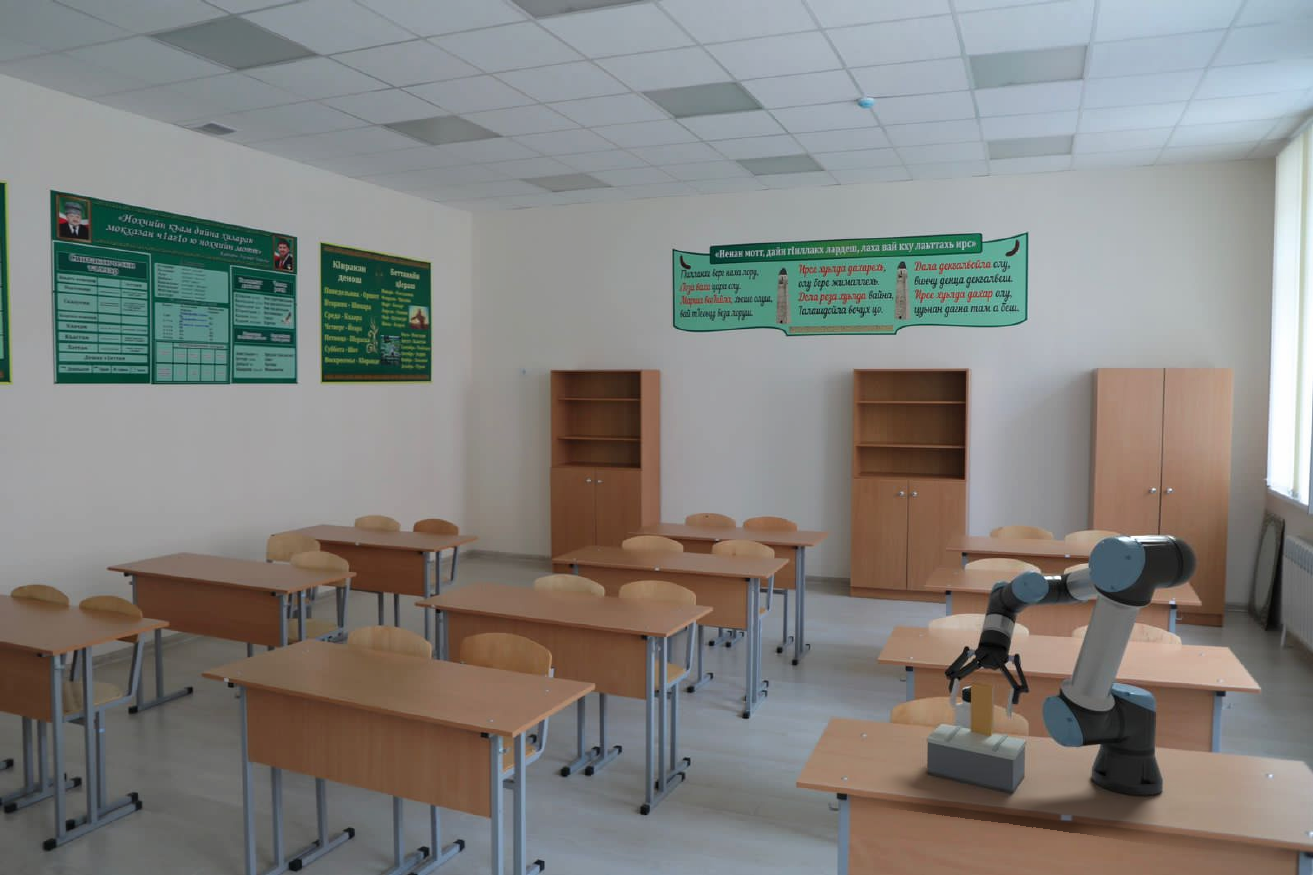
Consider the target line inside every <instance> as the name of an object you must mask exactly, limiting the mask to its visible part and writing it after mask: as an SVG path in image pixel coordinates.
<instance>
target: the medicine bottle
mask: <svg viewBox="0 0 1313 875" xmlns="http://www.w3.org/2000/svg"><path fill="white" fill-rule="evenodd" d="M953 720H954V722H953V726H958V725H961V726H962V728H967V729H971V685H970V686H965V687H963V688H962V689H961V702H958V703H955V707H954V719H953Z"/></svg>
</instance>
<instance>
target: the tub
mask: <svg viewBox="0 0 1313 875" xmlns="http://www.w3.org/2000/svg"><path fill="white" fill-rule="evenodd" d="M926 754H927V756H926V757H927V760H926V761H927V763H926V766H927V767H926V774H927V775H930V776H933V777H936V778H937V777H938V778H942V779H946V780H950V781H951V780H952V781H954V782H955V781H956V782H960V783H964V784H968V785H972V786H977V787H981V788H985V789H990V790H994V791H999V792H1003V793H1007V794H1012V795H1013V794H1014V793H1015V791H1016V790H1017V789H1018V787H1019V786H1020V784H1021V783H1022V781H1023V780H1024V779H1025V772H1026V771H1025V769H1026V766H1025V763H1026V761H1025V760H1026V745H1025V746H1024V748H1023V749H1022V750H1021V752H1020V753H1019V754H1018V756H1017V757H1016V758H1015V760H1010V759H1005V758H1001V757H996V756H991V755H986V754H982V753H977V752H972V751H967V750H963V749H958V748H953V747H948V746H943V745H939V744H934V743H929V742H927V752H926Z"/></svg>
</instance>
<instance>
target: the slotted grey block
mask: <svg viewBox="0 0 1313 875" xmlns="http://www.w3.org/2000/svg"><path fill="white" fill-rule="evenodd" d="M970 686H971V729H967V728H962V726H961V725H958V726H954V725H951V724H947V723H946V724H945V723H941V724H940V725H938V726H937V727H936V729H934V730H933V731H932V732H931V733H930V734H929V735H928V736H927V737H926V743H928V742H929V743H934V744H939V745H943V746H948V747H953V748H958V749H963V750H967V751H972V752H977V753H982V754H986V755H991V756H996V757H1001V758H1005V759H1010V760H1015V758H1016V757H1017V756H1018V754H1019V753H1020V752H1021V750H1022V749H1023V748H1024V746H1025V747H1026V745H1027V739H1024V738H1019V737H1018V738H1017V737H1012V736H1008V734H1006V733H1004V734H1003V735H1001V734H997V733H994V723H995V722H994V721H995V720H994V719H995V718H994V717H995V716H994V714H995V712H994V711H995V710H994V709H995V685H991V684H987V683H981V682H975V681H974V682H972V683H971V685H970Z"/></svg>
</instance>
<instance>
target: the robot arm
mask: <svg viewBox="0 0 1313 875" xmlns="http://www.w3.org/2000/svg"><path fill="white" fill-rule="evenodd" d="M1087 565H1088V567H1085V568H1081V569H1079V570H1075V571H1071V572H1068V573H1063V574H1054V575H1050V574H1049V575H1047V574H1046V575H1043V574H1041V573H1039V572H1037V571H1035V570H1028V571H1025V572H1023V573H1020V574H1019V575H1017V576H1016V577H1014V579H1012V580H1011V581H1004V580H1003V581H1001V582H1000V581H998V582H995V583H994V584H993V585H992V588H991V591H990V593H989V597H988V598H989V599H988V603H987V607H986V611H985V612H986V613H985V615H984V616H985V617H984V620H983V623H982V628H981V632H980V637H979V640H978V644H977V648H976V649H973V648H970V647H969V646H967V645H966V646H964V648H963V651H962V652H961V654H960V655H959V656H958V657H957V658H955V660H954V661H953V662H952V664H951V665H949V667H948V668H947V669H946V670H945V671H944V675H945V678H946V679H947V680H948V681H949V685H948V691H949V693H950V698H949V700H948V701H949V704H950V707H951V708H955V704H957V703H956V702H957V699H958V695H959V691H960V687H961V686H960V685H961V683H960V681H961V680H963V679H965V678H966V677H967V676H969V675H970V674H972V673H973V672H975V671H977V670H980V669H981V668H983V669H984V670H993V671H997V670H999V671H1000V672H1001V673H1002V675H1003V676H1004V677H1005V678H1006V681H1007V682H1008V683H1009V685H1010V686H1011V687H1010V690H1009V695H1008V700H1007V704H1006V705H1007V706H1006V709H1005V712H1006V716H1007V718H1009V719H1011V718H1012V715H1013V709H1014V705H1016V706H1018V704H1019V703H1020V696H1021V694H1022V693H1025V694H1028V693H1030V689H1029V686H1028V682H1027V680H1026V677H1025V673H1024V672H1023V668H1022V661H1021V657H1020V656H1021V655H1020V654H1019V653H1015V654H1014V655H1013V654H1012V655H1010V654H1009V653H1010V648H1011V646H1012V645H1011V644H1012V640H1013V635H1014V632H1015V631H1014V630H1015V625H1016V621H1017V617H1018V614H1020V613H1021V612H1023V611H1025V610H1026V609H1028V608H1029V607H1033V606H1050V605H1063V604H1064V605H1067V604H1069V605H1070V604H1071V605H1076V604H1081V603H1086V602H1088V601H1090V600H1091V599H1095V598H1096V600H1095V604H1094V606H1093V610H1092V612H1091V615H1090V619H1089V622H1088V625H1087V628H1086V631H1085V634H1084V637H1083V640H1082V643H1081V647H1080V650H1079V653H1078V655H1077V659H1076V661H1075V664H1074V668H1073V670H1072V674H1071V676H1070V677H1069V678H1066V679H1064V680H1063V681H1062V682H1061V684H1060V687H1059V690H1058V693H1057V695H1050V696H1048V697H1046V698H1045V699H1044V701H1043V703H1042V707H1041V708H1042V710H1041V713H1042V714H1041V715H1042V719H1043V723H1044V726H1045V729H1046V730H1047V732H1048V734H1049V735H1050V737H1051V738H1052V740H1054V742H1056V743H1057V745H1058V744H1059V745H1060V746H1062V747H1065V748H1081V747H1089V746H1095V745H1099V749H1098V752H1097V754H1096V755H1095V759H1094V761H1093V764H1092V766H1091V779H1092V781H1093V782H1094V783H1096V784H1097V785H1099V786H1100V787H1102V788H1104V789H1107V790H1110V791H1112V792H1116V793H1120V794H1123V795H1125V794H1126V795H1130V796H1144V797H1145V796H1155V795H1158V794H1161V793H1162V791H1163V790H1162V789H1163V787H1164V785H1163V784H1164V782H1163V781H1164V780H1163V775H1162V773H1161V770H1160V767H1159V764H1158V760H1157V758H1156V730H1157V729H1156V727H1157V721H1156V720H1157V713H1158V711H1157V709H1156V706H1157V704H1156V701H1157V700H1156V697H1155V696H1154V694H1153V693H1151V691H1148V690H1146V689H1144V688H1141V687H1138V686H1135V685H1130V684H1125V683H1121V682H1120V683H1119V682H1115V681H1116V678H1117V675H1118V673H1119V669H1120V666H1121V663H1122V661H1123V658H1124V655H1125V652H1126V649H1127V647H1128V644H1129V641H1130V639H1131V635H1132V632H1133V629H1134V627H1135V623H1136V620H1137V617H1138V615H1139V612H1140V610H1141V609H1142V608H1146V607H1148V606H1150V604H1151V603H1152V602H1151V601H1152V600H1153V597H1154V593H1155V591H1156V590H1157V589H1158V590H1159V589H1170V588H1176V587H1180V586H1183V585H1185V584H1186V583H1188V582H1189V581H1190V580H1192V578H1193V577H1194V576H1195V574H1196V572H1197V568H1198V559H1197V556H1196V553H1195V551H1194V549H1193V548H1192V546H1191V545H1190V544H1189V543H1187V542H1186V541H1185V540H1183V539H1182V538H1180V537H1177V536H1174V535H1171V534H1151V535H1149V534H1148V535H1147V534H1146V535H1124V534H1123V535H1117V536H1111V537H1107V538H1104V539H1101V540H1100V541H1099V542H1098V543H1097V544H1096V545H1095V546H1094V547H1093V548H1092V550H1091V552H1090V554H1089V558H1088V564H1087ZM973 656H975V657H973ZM972 657H973V659H971V658H972ZM969 659H971V661H970V662H968V661H969ZM967 662H968V663H967ZM1009 662H1011V664H1012V665H1013V666H1014V667H1015V669H1016V672H1017V676H1018V678H1019V681H1020V684H1019V683H1018V682H1017V680H1016V679H1015V677H1014V676H1013V674H1012V673H1011V672H1010V670H1009V669H1008V668H1007V666H1006V664H1007V663H1009ZM966 663H967V664H966ZM1157 793H1158V794H1157ZM1154 794H1155V795H1154Z"/></svg>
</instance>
